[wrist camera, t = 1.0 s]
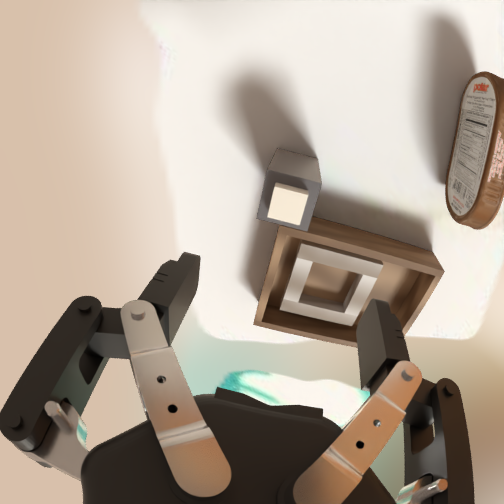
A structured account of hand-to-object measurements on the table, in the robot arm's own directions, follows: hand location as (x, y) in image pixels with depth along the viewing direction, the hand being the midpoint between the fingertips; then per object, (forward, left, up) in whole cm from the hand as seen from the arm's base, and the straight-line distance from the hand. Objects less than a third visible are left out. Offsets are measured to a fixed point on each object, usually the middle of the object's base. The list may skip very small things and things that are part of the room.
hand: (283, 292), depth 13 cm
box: (+10, +8, -18) cm, 23 cm away
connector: (0, -1, -18) cm, 18 cm away
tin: (-9, +15, -18) cm, 26 cm away
